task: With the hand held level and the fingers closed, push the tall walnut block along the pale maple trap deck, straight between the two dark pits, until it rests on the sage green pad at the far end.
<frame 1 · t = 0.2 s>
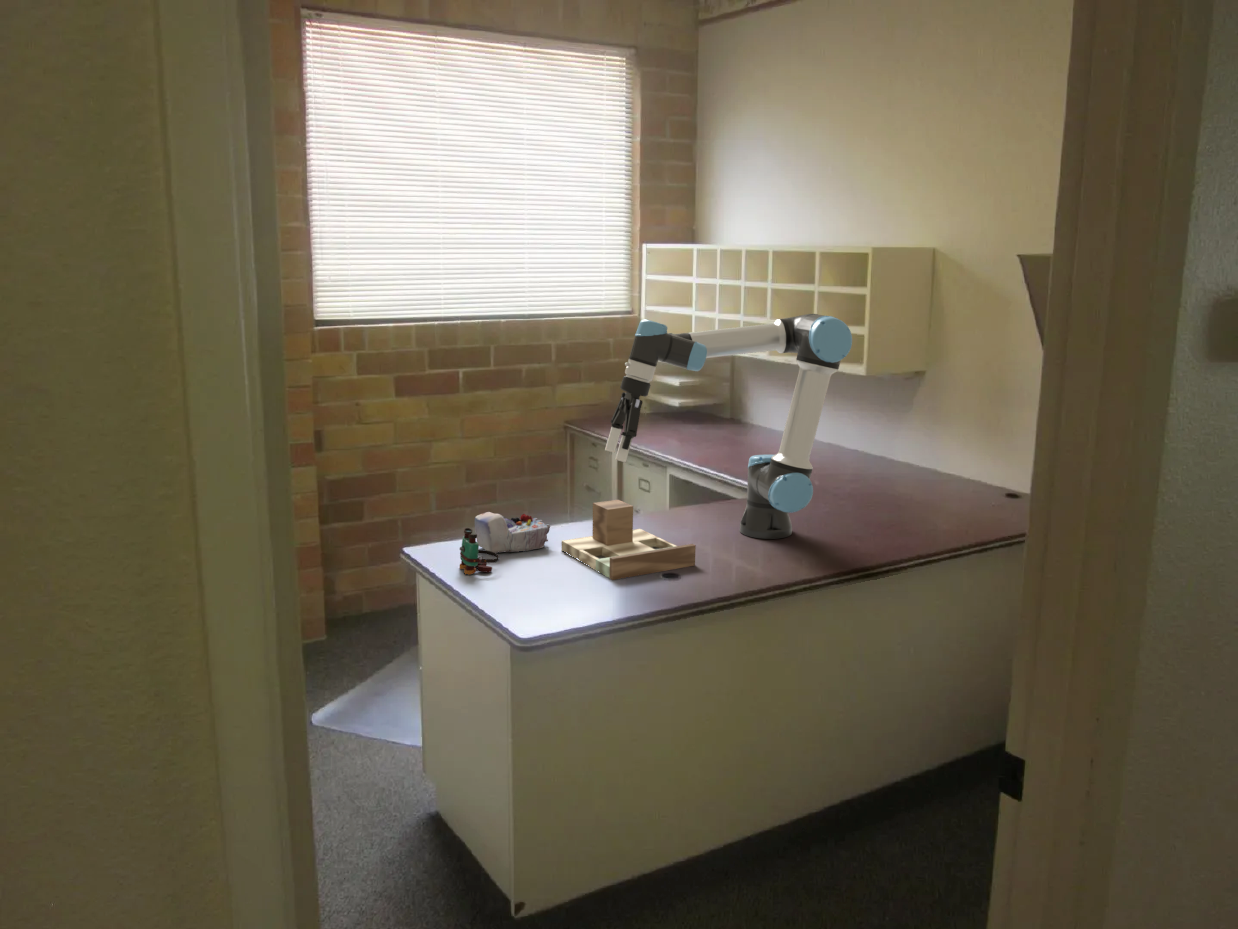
hand: (614, 456, 265), 27 cm above the worktop, tool tilted 15°, fingers open, 13 cm apart
binoculars: (478, 570, 256), on the worktop
trap deck: (623, 556, 269), on the worktop
walnut block: (612, 540, 273), point 3 cm above the worktop, touching trap deck
cell model: (513, 548, 275), on the worktop
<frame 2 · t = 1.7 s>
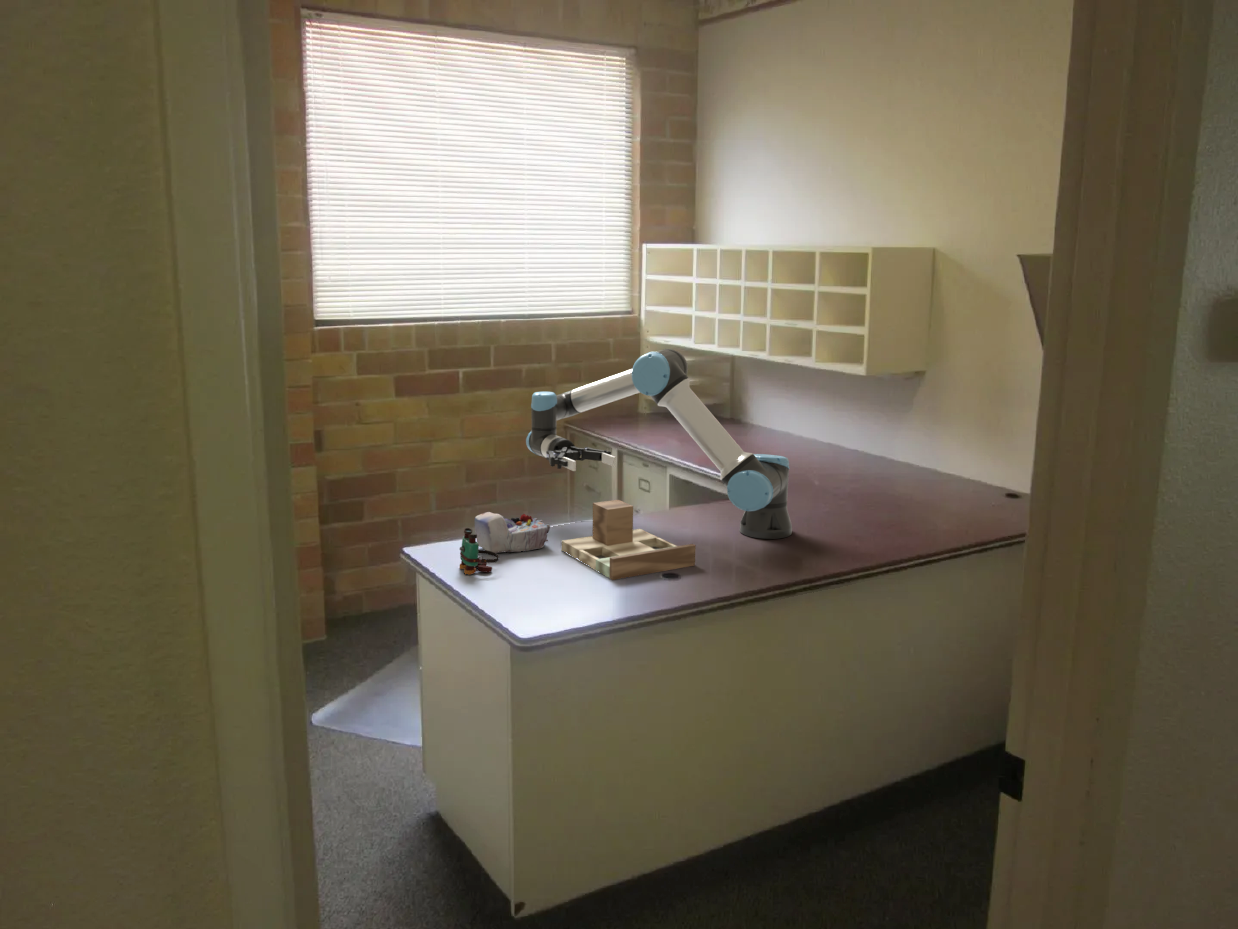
hand: (594, 464, 278), 22 cm above the worktop, tool horizontal, fingers open, 12 cm apart
nothing on the worktop moved.
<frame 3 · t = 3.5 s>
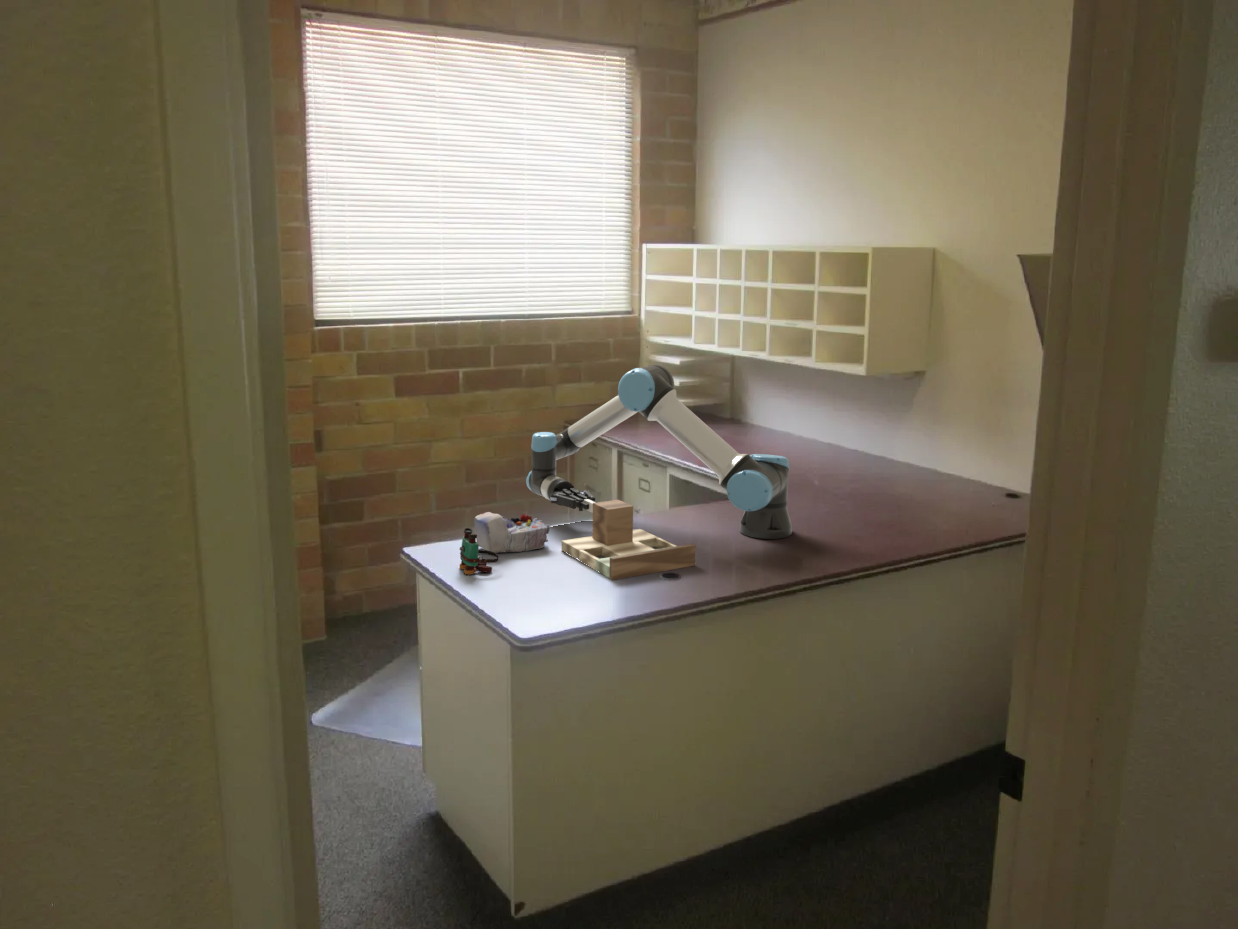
hand: (597, 509, 279), 10 cm above the worktop, tool horizontal, fingers closed
nothing on the worktop moved.
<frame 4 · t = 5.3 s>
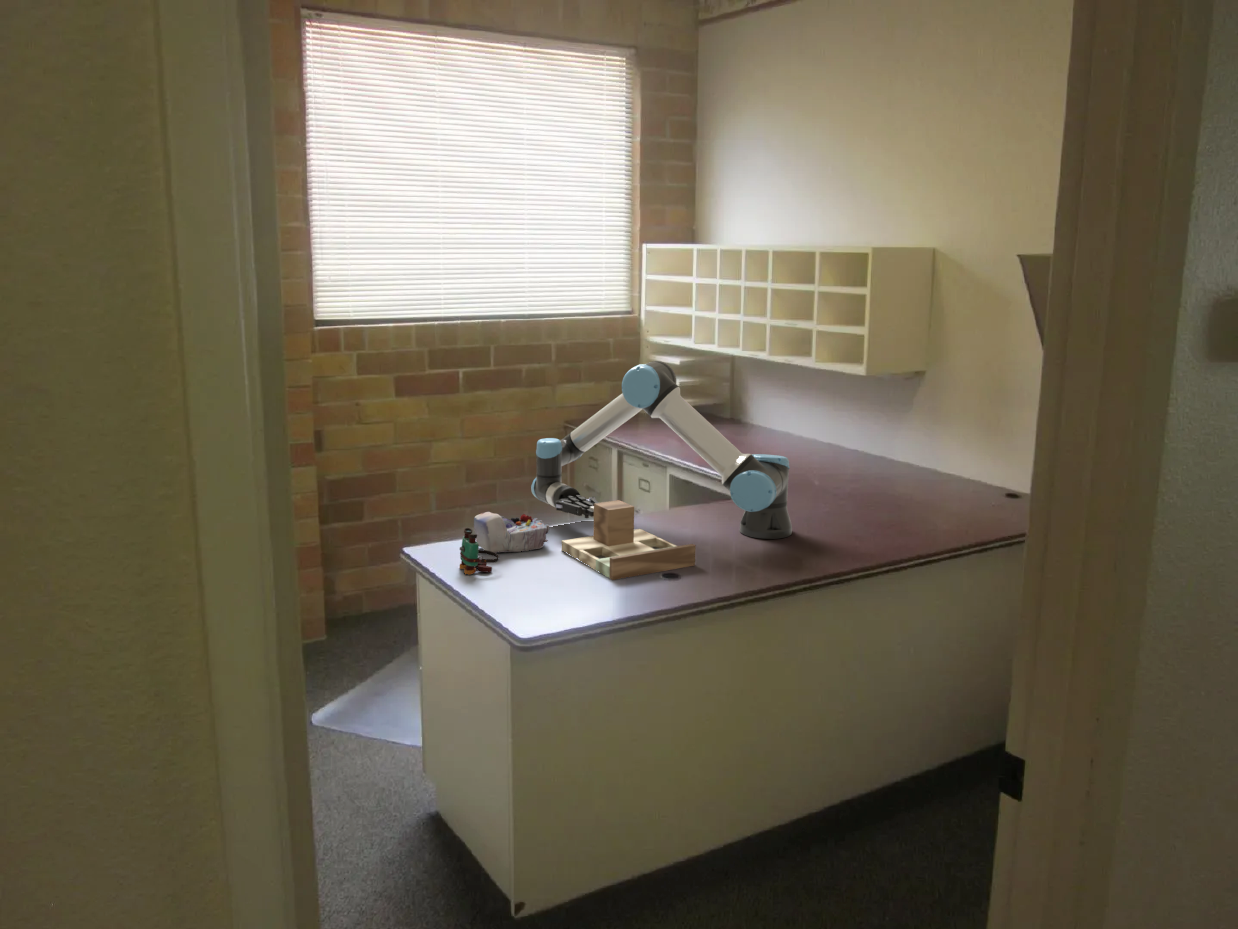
hand: (603, 516, 275), 9 cm above the worktop, tool horizontal, fingers closed
walnut block: (613, 540, 273), point 3 cm above the worktop, touching gripper
everything else where it was.
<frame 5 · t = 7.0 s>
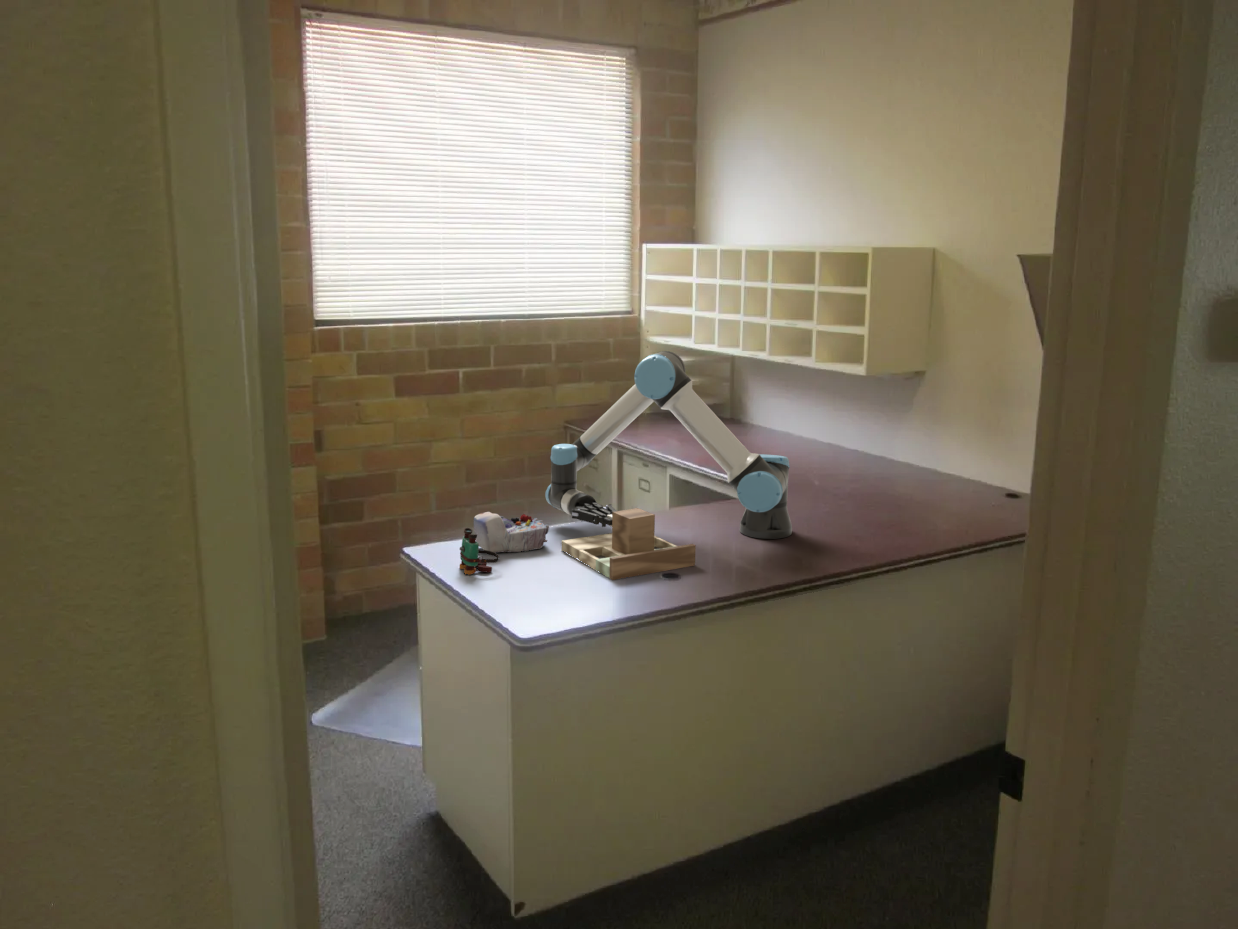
hand: (621, 525, 266), 9 cm above the worktop, tool horizontal, fingers closed
walnut block: (632, 549, 264), point 3 cm above the worktop
everything else where it was.
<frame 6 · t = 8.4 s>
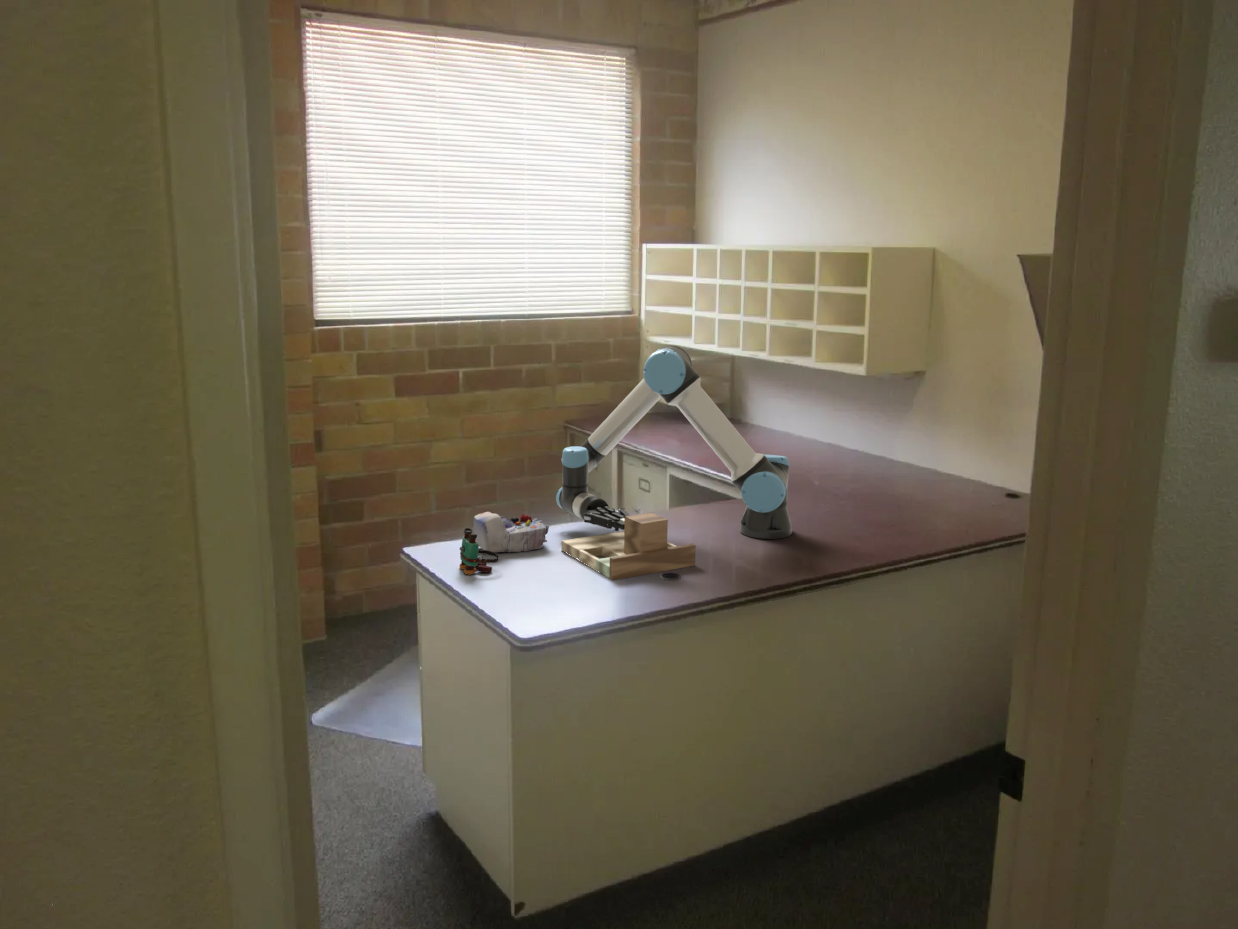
hand: (634, 529, 262), 9 cm above the worktop, tool horizontal, fingers closed
walnut block: (645, 555, 260), point 3 cm above the worktop, touching gripper, trap deck
everything else where it was.
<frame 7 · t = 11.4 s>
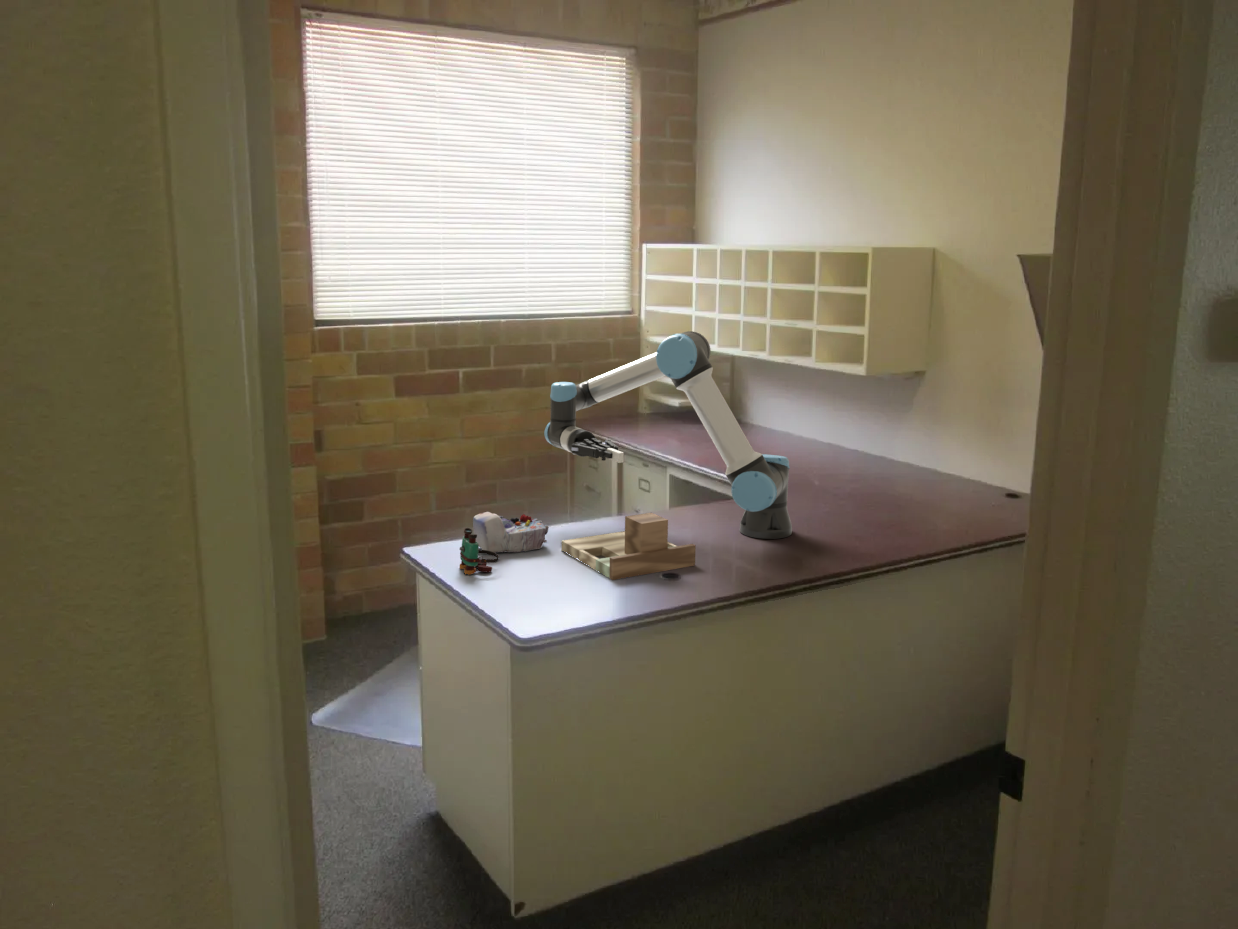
hand: (621, 457, 269), 26 cm above the worktop, tool horizontal, fingers closed
walnut block: (645, 555, 260), point 3 cm above the worktop, touching trap deck
everything else where it was.
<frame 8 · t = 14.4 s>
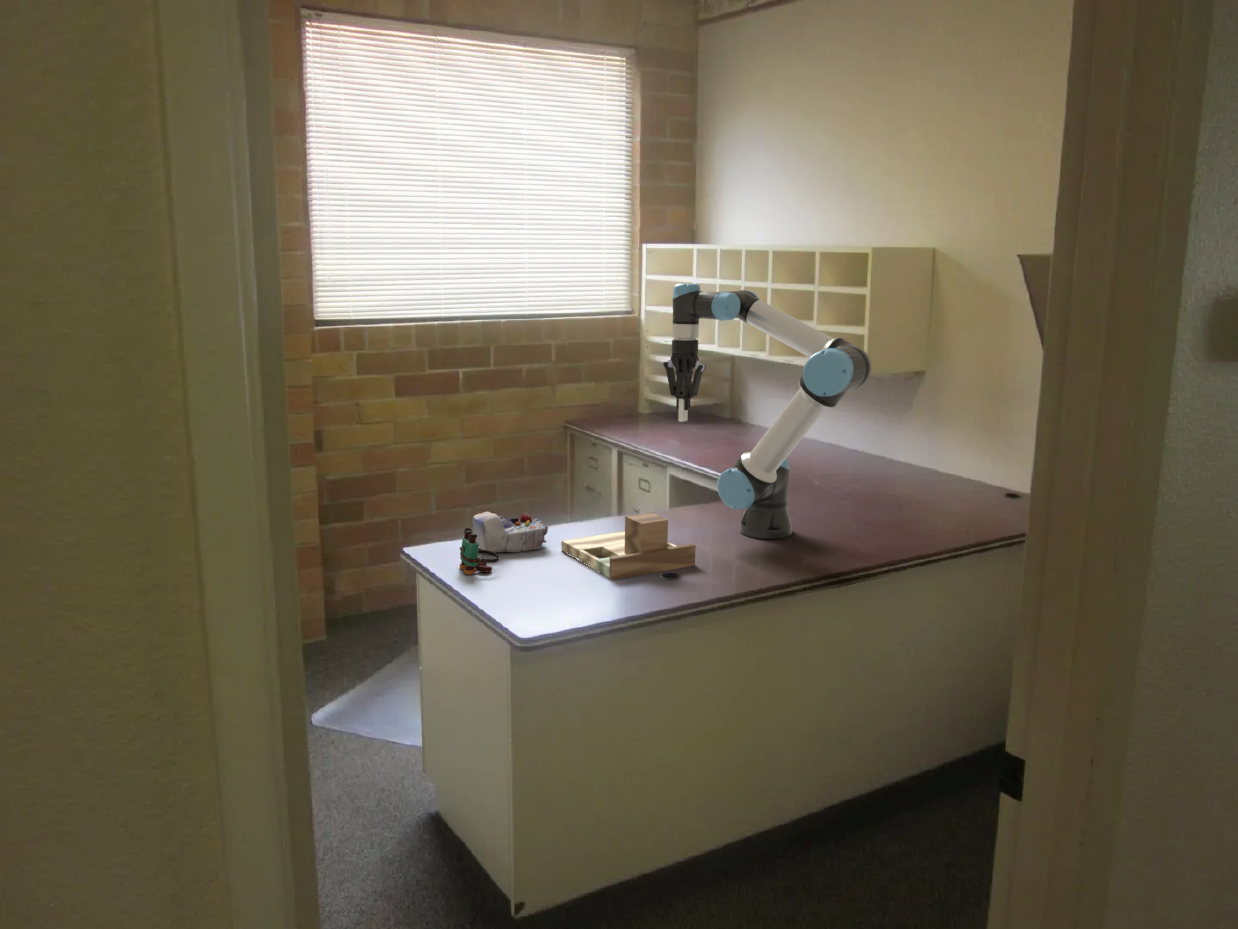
hand: (682, 420, 289), 32 cm above the worktop, tool pointing down, fingers closed
nothing on the worktop moved.
at the end: walnut block inside the target area on the trap deck (1.6 cm from its centre), point 3.0 cm above the trap deck's base; walnut block tilted 0° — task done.
